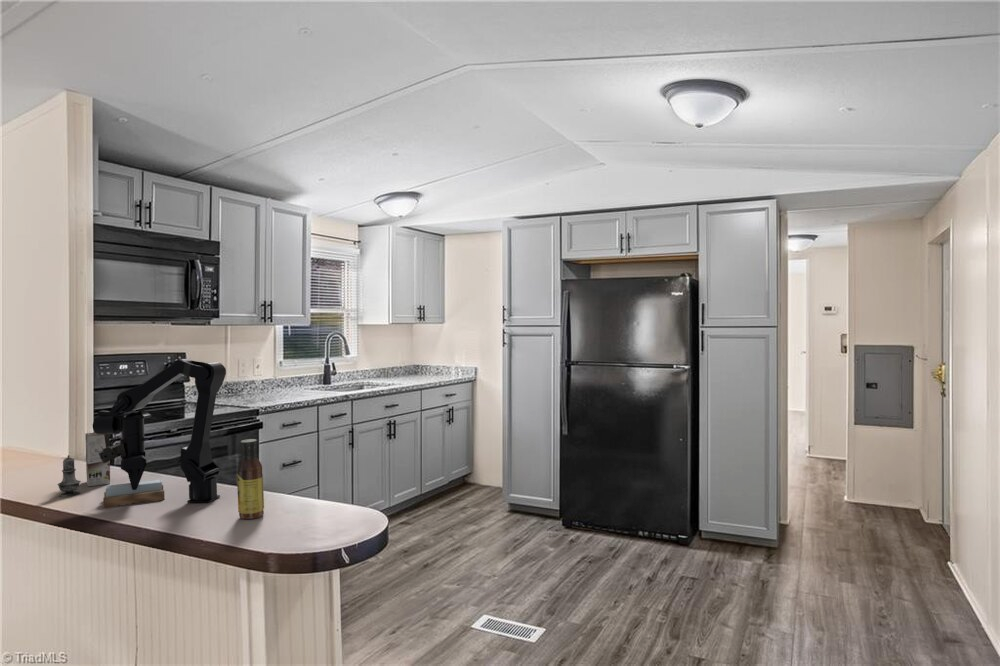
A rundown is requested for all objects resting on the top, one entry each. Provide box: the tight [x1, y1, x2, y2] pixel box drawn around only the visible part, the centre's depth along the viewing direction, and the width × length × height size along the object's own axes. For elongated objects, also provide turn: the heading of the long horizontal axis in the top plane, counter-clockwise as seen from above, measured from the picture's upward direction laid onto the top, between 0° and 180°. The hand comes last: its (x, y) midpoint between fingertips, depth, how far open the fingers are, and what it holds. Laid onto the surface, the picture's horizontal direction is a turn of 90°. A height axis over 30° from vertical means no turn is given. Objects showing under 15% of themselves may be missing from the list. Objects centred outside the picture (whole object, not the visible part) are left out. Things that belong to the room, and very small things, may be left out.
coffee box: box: [84, 431, 111, 487], centre depth 210 cm, size 9×6×16 cm
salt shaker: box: [56, 454, 82, 498], centre depth 195 cm, size 6×6×12 cm
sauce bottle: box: [236, 438, 265, 520], centre depth 166 cm, size 6×6×20 cm
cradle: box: [102, 484, 165, 509], centre depth 186 cm, size 15×9×2 cm, turn 120°
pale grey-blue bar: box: [105, 479, 163, 497], centre depth 186 cm, size 14×4×5 cm, turn 120°
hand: (134, 487), depth 186 cm, fingers open, 5 cm apart
